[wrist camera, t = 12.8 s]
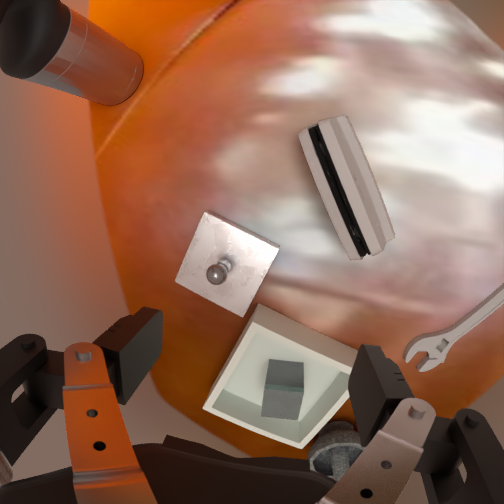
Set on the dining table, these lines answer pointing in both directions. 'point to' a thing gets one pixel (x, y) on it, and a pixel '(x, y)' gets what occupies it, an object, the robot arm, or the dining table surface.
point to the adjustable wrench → (451, 333)
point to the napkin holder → (347, 186)
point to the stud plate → (233, 250)
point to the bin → (255, 370)
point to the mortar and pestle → (335, 449)
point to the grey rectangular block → (283, 390)
